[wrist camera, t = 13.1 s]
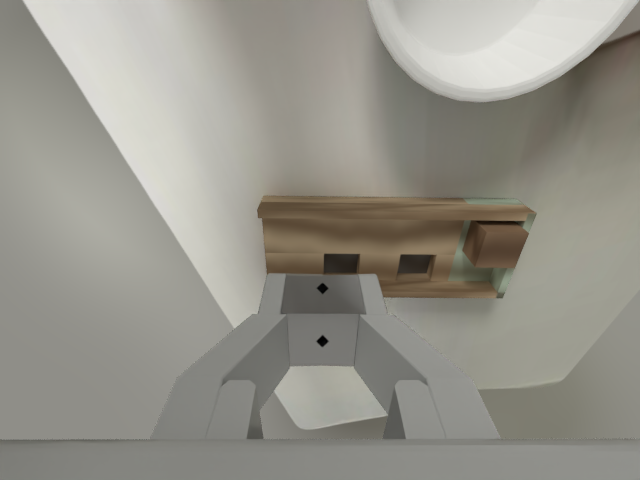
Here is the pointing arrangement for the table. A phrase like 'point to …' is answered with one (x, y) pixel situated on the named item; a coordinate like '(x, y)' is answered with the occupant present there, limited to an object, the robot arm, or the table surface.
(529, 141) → the table surface
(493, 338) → the table surface
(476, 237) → the walnut block
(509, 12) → the bowl
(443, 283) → the trap lane
